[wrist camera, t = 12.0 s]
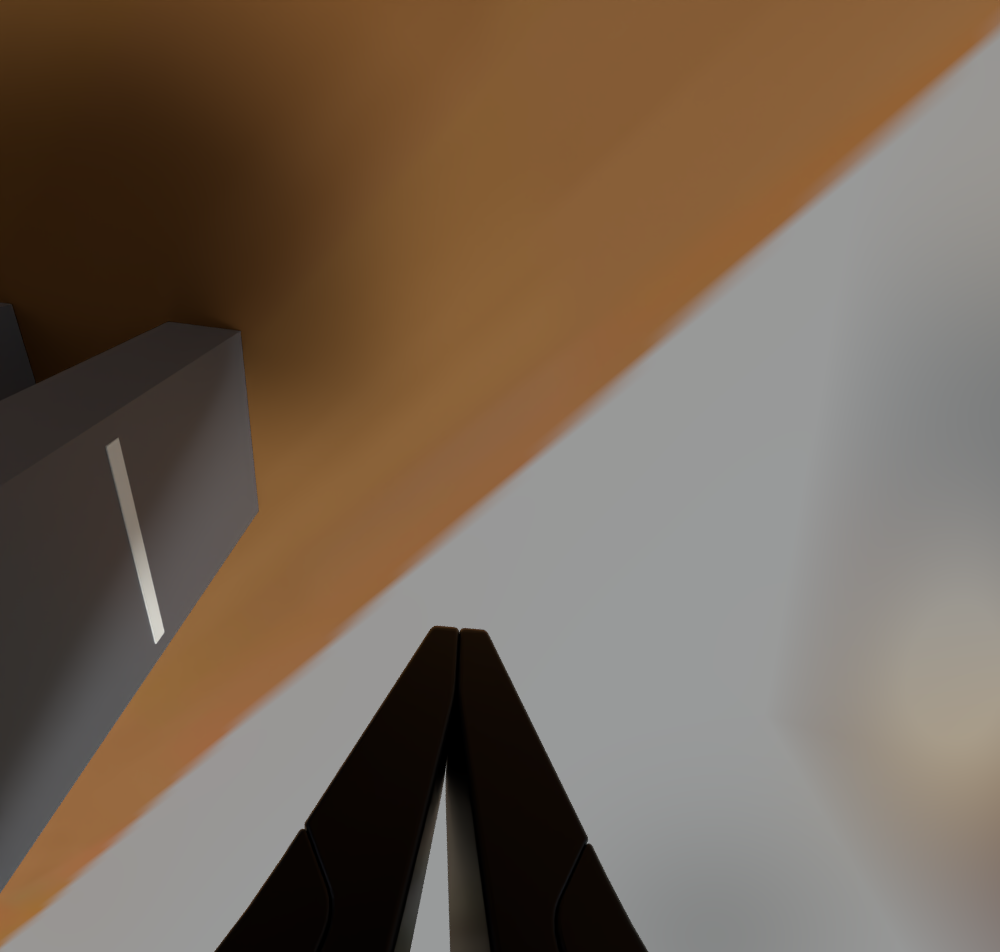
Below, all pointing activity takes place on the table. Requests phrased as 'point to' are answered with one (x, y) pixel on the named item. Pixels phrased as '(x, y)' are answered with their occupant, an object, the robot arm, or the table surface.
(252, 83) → the table surface
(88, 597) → the domino
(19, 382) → the domino
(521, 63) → the table surface
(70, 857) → the table surface
